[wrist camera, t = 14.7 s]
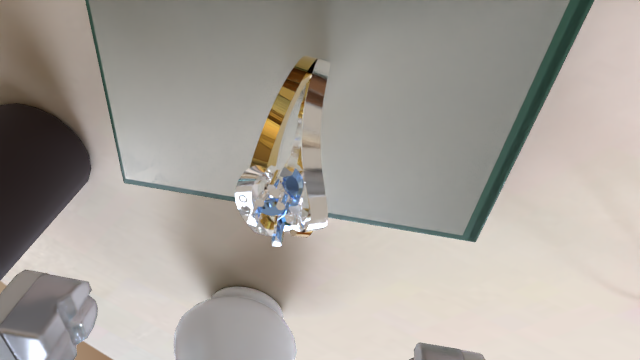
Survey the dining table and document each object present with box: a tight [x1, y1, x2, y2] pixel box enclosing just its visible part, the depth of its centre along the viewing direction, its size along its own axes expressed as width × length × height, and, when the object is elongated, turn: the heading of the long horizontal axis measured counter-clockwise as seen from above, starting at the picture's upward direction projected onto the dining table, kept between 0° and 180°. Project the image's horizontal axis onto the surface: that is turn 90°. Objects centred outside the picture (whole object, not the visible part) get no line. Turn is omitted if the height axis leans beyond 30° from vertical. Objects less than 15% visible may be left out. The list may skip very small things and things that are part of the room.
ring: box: [235, 55, 331, 246], centre depth 17 cm, size 7×3×8 cm, turn 166°
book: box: [85, 0, 594, 242], centre depth 21 cm, size 20×14×3 cm
